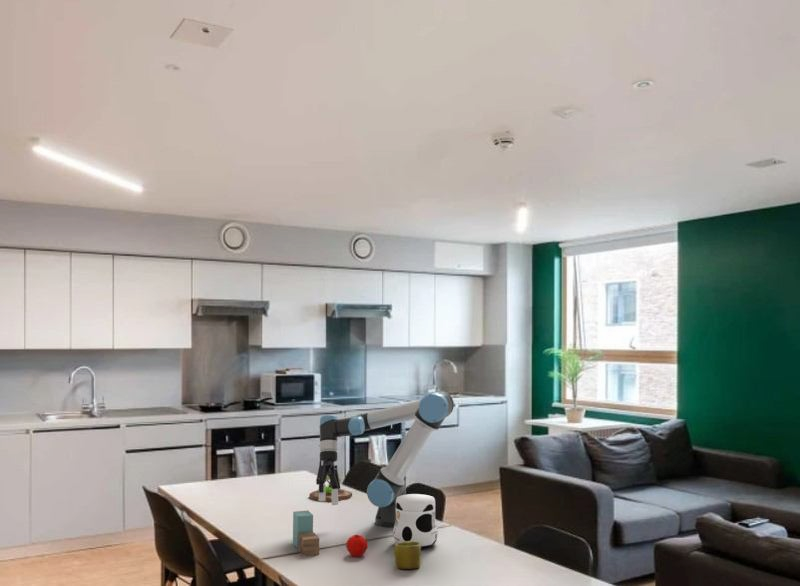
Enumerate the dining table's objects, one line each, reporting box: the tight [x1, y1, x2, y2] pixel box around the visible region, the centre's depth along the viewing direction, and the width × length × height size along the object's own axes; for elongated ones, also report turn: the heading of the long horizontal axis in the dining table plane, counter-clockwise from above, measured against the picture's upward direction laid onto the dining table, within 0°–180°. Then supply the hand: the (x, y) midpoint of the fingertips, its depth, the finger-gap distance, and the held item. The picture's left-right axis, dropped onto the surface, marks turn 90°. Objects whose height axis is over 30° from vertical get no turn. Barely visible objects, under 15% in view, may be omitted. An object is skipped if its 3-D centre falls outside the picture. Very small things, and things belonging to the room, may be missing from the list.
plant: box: [309, 475, 353, 503], centre depth 357 cm, size 20×20×11 cm
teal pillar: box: [292, 510, 314, 549], centre depth 274 cm, size 8×6×12 cm
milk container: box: [392, 493, 439, 549], centre depth 275 cm, size 17×17×18 cm
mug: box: [393, 541, 422, 570], centre depth 250 cm, size 12×10×10 cm
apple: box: [345, 534, 368, 558], centre depth 261 cm, size 8×8×7 cm
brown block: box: [297, 531, 320, 557], centre depth 265 cm, size 9×6×6 cm
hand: (328, 503), depth 292 cm, fingers open, 13 cm apart
